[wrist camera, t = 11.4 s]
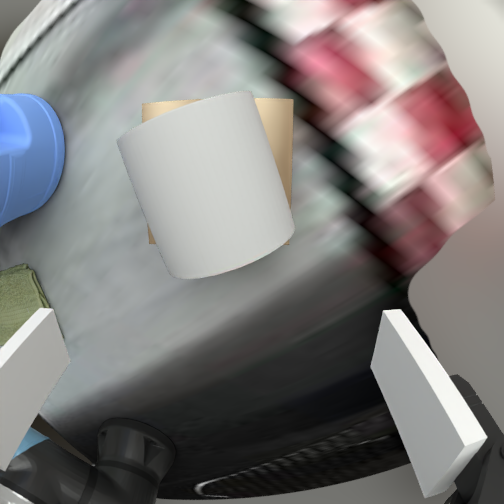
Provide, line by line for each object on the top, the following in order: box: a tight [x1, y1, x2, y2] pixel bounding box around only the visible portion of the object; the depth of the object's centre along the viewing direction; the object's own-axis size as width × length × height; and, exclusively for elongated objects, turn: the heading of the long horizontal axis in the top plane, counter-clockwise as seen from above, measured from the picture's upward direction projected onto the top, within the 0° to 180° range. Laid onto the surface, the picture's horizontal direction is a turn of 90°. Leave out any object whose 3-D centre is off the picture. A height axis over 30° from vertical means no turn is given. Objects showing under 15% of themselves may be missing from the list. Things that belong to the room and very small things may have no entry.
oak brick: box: [142, 98, 293, 245], centre depth 31 cm, size 13×13×7 cm
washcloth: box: [0, 263, 64, 346], centre depth 40 cm, size 13×18×3 cm
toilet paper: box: [117, 91, 295, 279], centre depth 23 cm, size 10×10×10 cm
